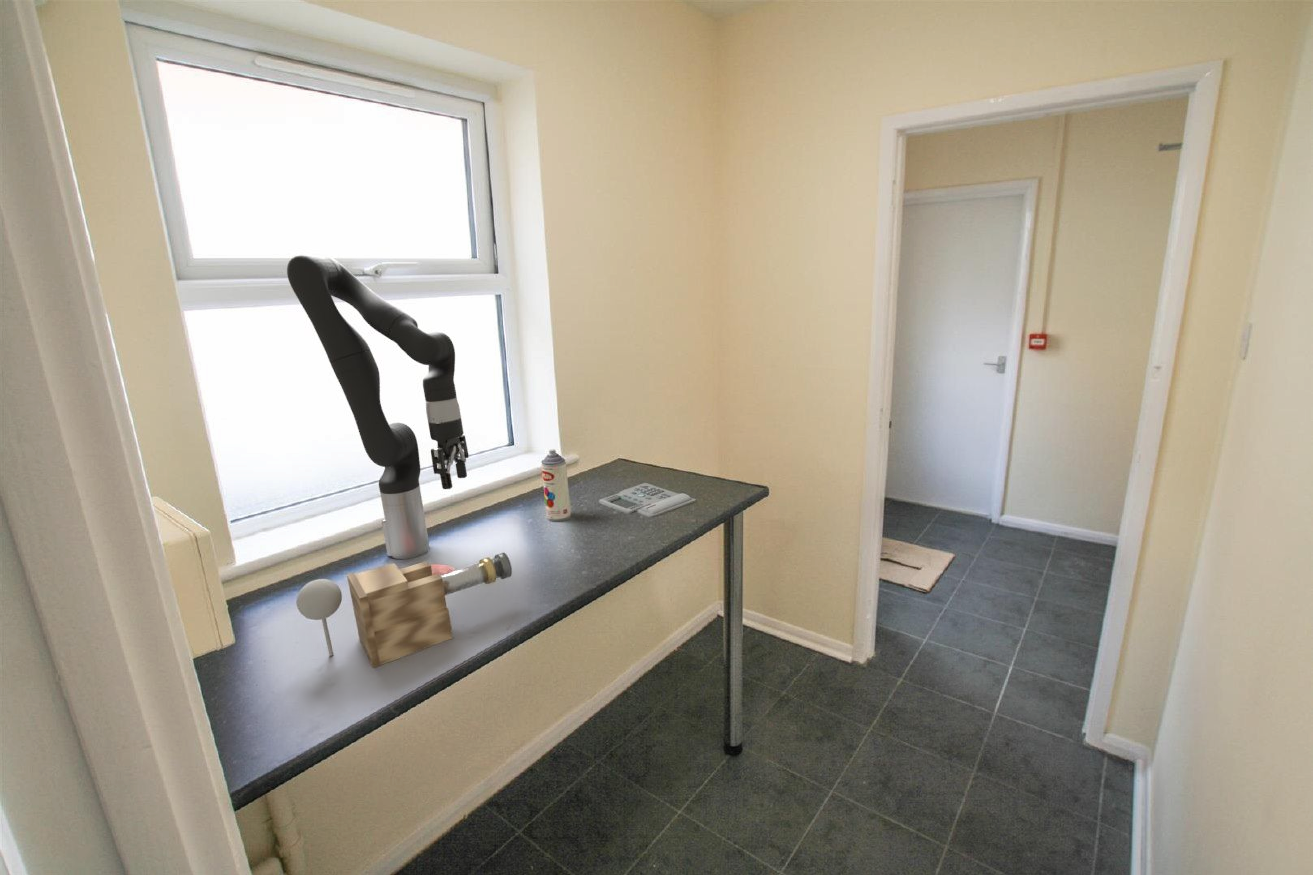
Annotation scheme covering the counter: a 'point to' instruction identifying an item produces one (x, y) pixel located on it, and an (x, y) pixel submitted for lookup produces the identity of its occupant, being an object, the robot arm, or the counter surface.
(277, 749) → the counter surface
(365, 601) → the bearing block
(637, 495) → the office telephone
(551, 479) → the aerosol can
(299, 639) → the counter surface
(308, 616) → the lollipop
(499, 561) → the shaft
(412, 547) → the robot arm
